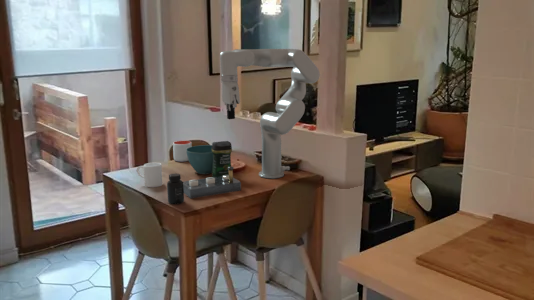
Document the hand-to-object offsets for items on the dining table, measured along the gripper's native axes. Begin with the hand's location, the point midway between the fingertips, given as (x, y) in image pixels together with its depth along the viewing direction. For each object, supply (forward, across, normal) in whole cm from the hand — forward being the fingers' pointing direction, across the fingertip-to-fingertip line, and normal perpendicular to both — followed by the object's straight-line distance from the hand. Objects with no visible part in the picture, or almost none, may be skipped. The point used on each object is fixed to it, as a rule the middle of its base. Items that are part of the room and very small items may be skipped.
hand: (231, 118), depth 242 cm
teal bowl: (+31, +23, +5) cm, 39 cm away
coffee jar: (+31, +8, +2) cm, 32 cm away
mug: (+30, +16, +36) cm, 50 cm away
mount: (+30, -6, +14) cm, 34 cm away
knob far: (+30, -6, +22) cm, 38 cm away
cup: (+31, +52, +7) cm, 61 cm away
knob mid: (+30, -6, +14) cm, 34 cm away
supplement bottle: (+30, -14, +34) cm, 47 cm away
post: (+27, -11, +6) cm, 29 cm away
